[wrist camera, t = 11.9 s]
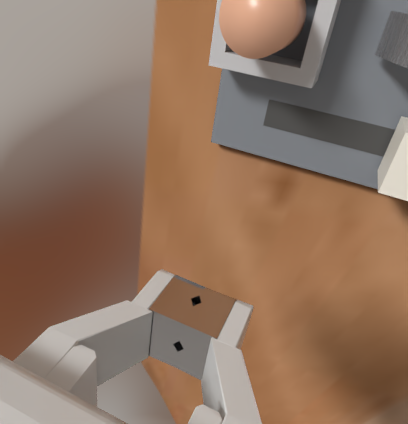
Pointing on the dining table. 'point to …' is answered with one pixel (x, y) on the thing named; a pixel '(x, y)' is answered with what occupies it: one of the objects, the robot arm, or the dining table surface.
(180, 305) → the robot arm
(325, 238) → the dining table surface
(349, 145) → the panel
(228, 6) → the terracotta button
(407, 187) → the slider knob
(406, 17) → the ball-tipped lever
